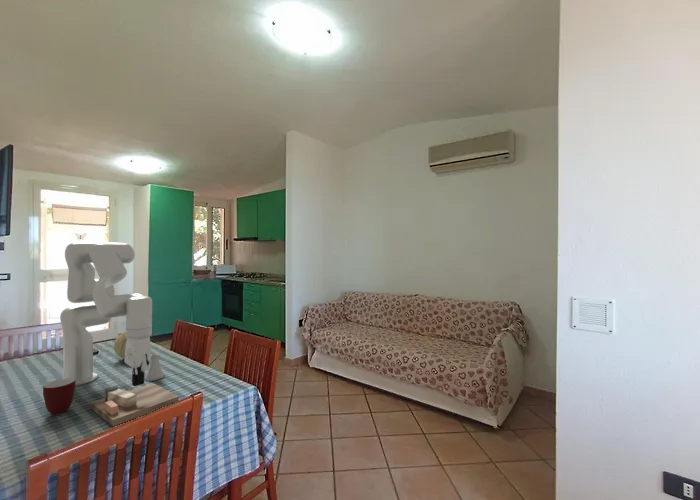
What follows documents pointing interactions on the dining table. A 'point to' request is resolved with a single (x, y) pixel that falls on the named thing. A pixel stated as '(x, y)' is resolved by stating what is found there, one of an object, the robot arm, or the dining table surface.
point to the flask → (154, 369)
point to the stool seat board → (146, 402)
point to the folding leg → (120, 397)
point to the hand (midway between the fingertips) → (138, 384)
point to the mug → (59, 395)
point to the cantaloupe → (120, 345)
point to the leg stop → (111, 407)
